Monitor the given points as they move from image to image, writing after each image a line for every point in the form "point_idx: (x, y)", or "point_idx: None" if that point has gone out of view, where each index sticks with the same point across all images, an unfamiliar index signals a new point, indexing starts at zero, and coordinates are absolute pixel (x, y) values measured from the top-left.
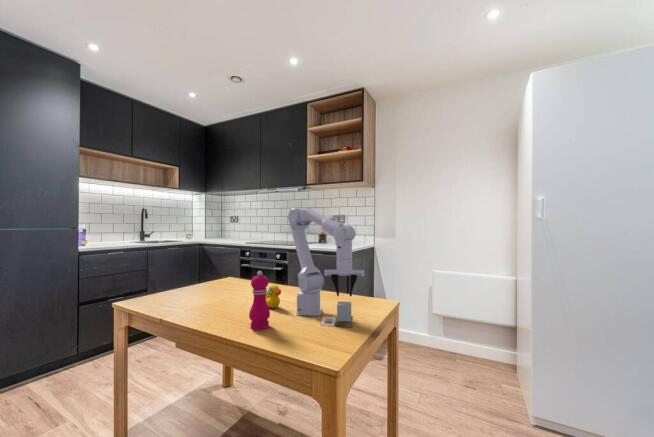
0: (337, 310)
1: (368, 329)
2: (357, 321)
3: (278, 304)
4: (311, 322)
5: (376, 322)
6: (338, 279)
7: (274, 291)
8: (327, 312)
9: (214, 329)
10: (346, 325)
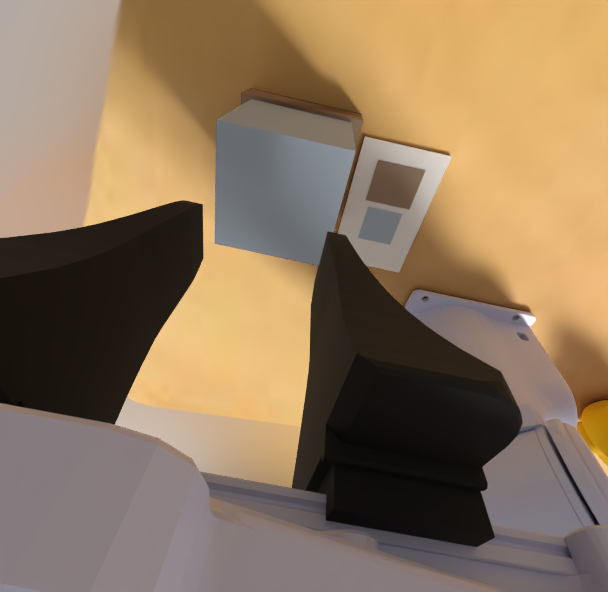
0: (350, 139)
1: (143, 31)
2: None
3: (596, 411)
4: (492, 207)
5: (105, 161)
6: (306, 430)
7: None
8: None
9: None
10: (289, 98)
